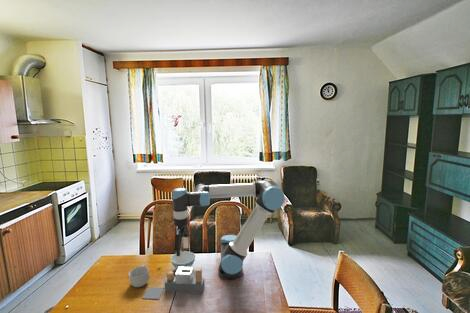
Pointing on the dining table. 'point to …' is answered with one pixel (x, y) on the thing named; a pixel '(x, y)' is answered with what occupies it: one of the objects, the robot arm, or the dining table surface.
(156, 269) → the dining table surface
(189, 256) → the chinaware
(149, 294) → the mat
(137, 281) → the teacup
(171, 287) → the plane
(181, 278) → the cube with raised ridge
